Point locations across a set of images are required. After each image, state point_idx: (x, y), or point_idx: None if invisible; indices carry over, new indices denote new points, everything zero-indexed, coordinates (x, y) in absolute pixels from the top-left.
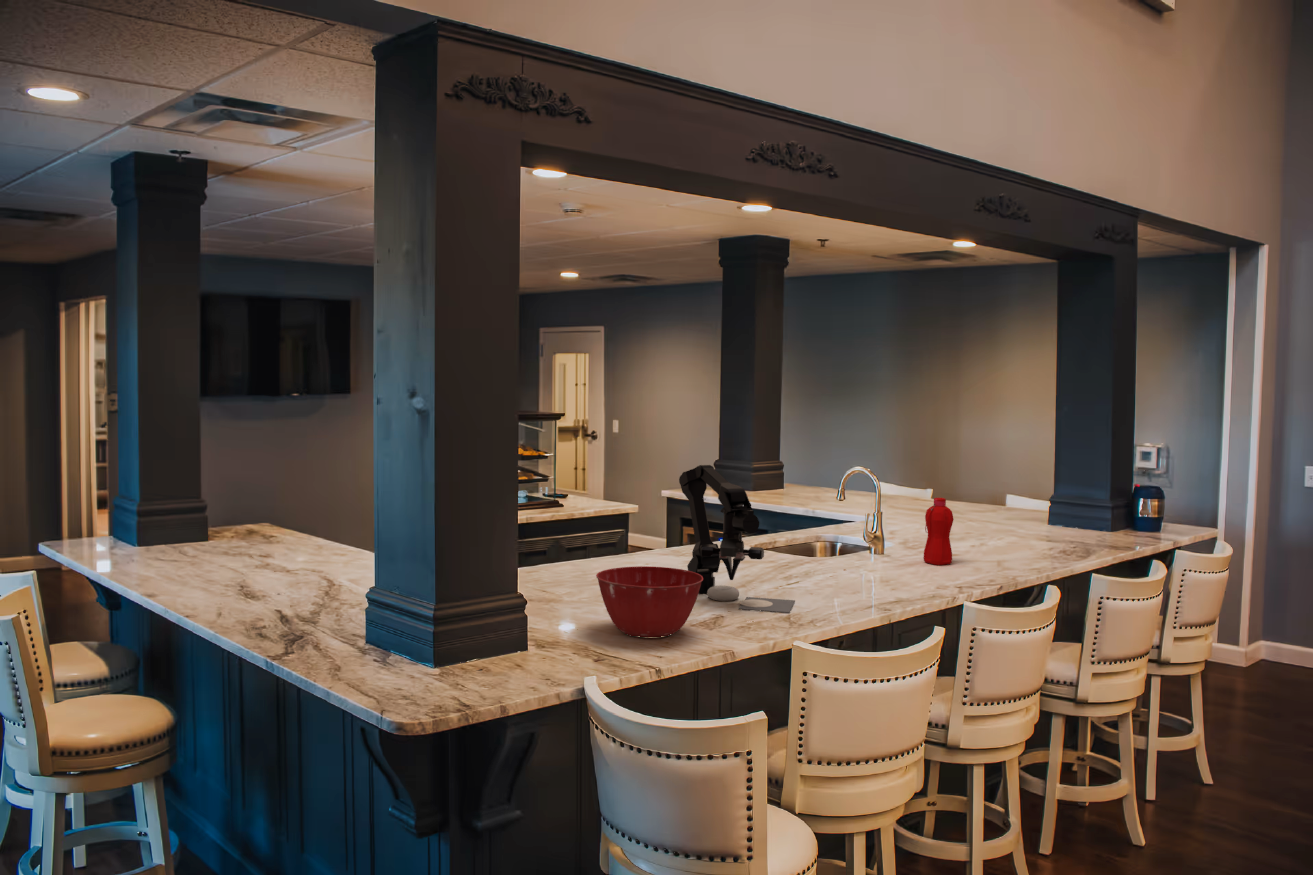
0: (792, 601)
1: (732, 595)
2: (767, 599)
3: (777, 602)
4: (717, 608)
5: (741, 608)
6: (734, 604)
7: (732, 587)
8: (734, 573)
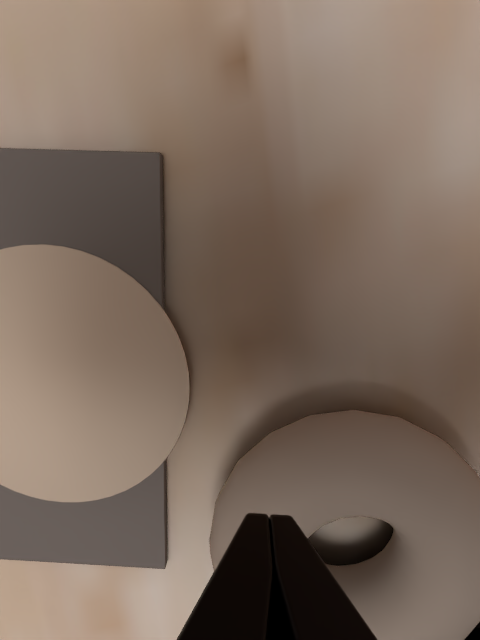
0: None
1: (256, 456)
2: (2, 526)
3: None
4: (355, 147)
5: (134, 154)
6: (227, 343)
7: None
8: (198, 605)
